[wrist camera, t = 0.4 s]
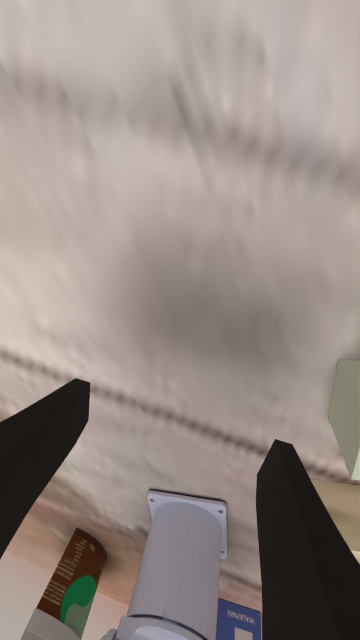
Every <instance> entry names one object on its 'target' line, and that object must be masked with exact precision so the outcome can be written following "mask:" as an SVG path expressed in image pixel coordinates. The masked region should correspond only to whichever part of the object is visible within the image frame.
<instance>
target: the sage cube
mask: <svg viewBox="0 0 360 640" xmlns="http://www.w3.org/2000/svg"><path fill="white" fill-rule="evenodd" d="M328 419H329V421H330V424H331V427H332V429H333V432H334V435H335V437H336V440H337V443H338V445H339V448H340V451H341V453H342V456H343V459H344V461H345V464H346V467H347V469H348V472H349V475H350V477H351V479H353V480H360V360H343V359H339V360H338V366H337V371H336V376H335V381H334V387H333V392H332V397H331V403H330V408H329V413H328Z"/></svg>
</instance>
